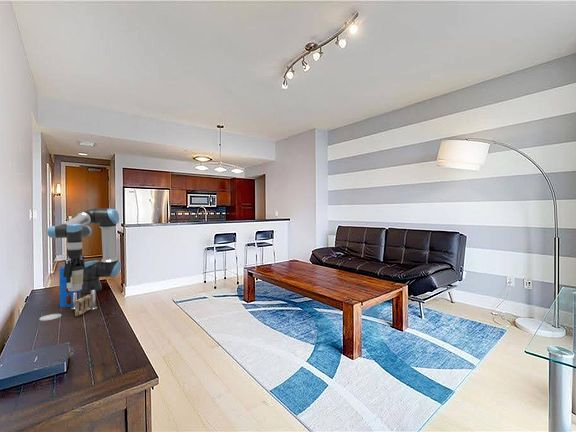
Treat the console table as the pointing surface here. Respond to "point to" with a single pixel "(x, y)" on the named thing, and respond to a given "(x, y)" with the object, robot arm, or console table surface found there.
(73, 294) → the post
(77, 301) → the gate
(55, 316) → the coaster
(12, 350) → the console table surface
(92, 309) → the hinge post
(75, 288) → the coffee cup
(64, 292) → the thermos
